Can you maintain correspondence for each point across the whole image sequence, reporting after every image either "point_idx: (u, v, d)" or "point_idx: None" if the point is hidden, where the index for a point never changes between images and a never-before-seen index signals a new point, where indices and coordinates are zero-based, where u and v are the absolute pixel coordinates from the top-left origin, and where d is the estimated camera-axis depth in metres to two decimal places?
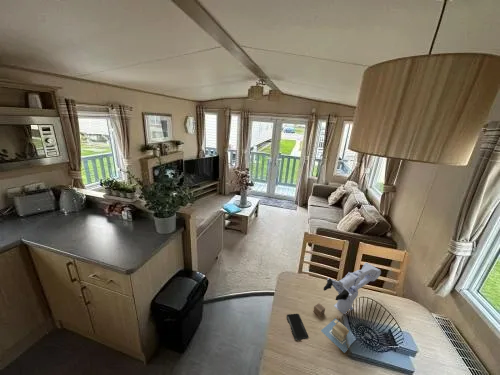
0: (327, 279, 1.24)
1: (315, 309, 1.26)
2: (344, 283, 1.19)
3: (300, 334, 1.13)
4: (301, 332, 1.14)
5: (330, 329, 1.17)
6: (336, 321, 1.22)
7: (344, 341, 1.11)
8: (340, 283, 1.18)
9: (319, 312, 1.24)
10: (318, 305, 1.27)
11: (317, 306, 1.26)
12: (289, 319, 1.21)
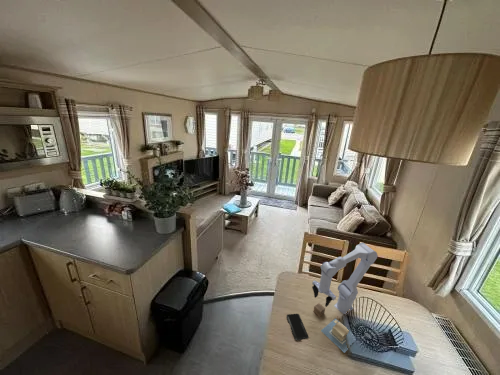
0: None
1: (315, 309, 1.26)
2: (323, 288, 1.19)
3: (300, 334, 1.13)
4: (301, 332, 1.14)
5: (330, 329, 1.17)
6: (336, 321, 1.22)
7: (344, 341, 1.11)
8: None
9: (319, 312, 1.24)
10: (318, 305, 1.27)
11: (317, 306, 1.26)
12: (289, 319, 1.21)
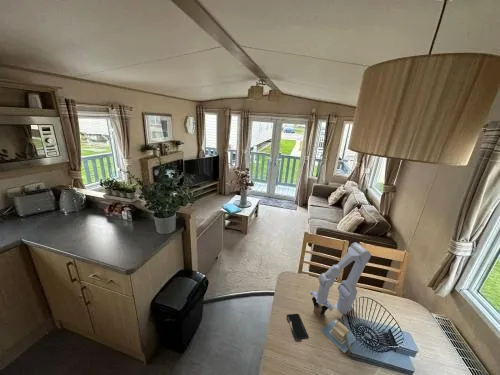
0: None
1: (315, 309, 1.26)
2: (320, 299, 1.21)
3: (300, 334, 1.13)
4: (301, 332, 1.14)
5: (330, 329, 1.17)
6: (336, 321, 1.22)
7: (344, 341, 1.11)
8: None
9: (319, 312, 1.24)
10: (318, 305, 1.27)
11: (317, 306, 1.26)
12: (289, 319, 1.21)
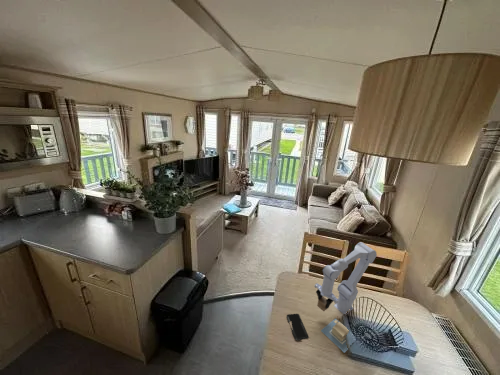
0: None
1: (319, 303, 1.22)
2: (325, 292, 1.18)
3: (300, 334, 1.13)
4: (301, 332, 1.14)
5: (330, 329, 1.17)
6: (336, 321, 1.22)
7: (344, 341, 1.11)
8: None
9: (323, 306, 1.20)
10: (322, 299, 1.23)
11: (321, 300, 1.23)
12: (289, 319, 1.21)
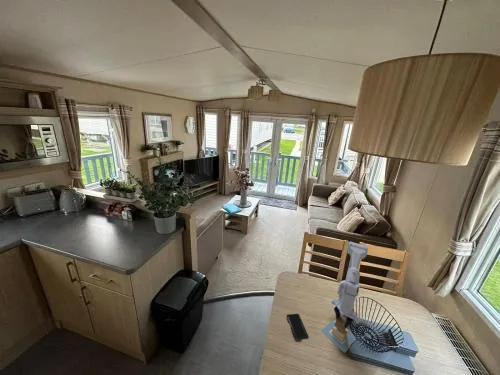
0: (332, 303, 1.15)
1: (337, 322, 1.12)
2: (345, 310, 1.07)
3: (300, 334, 1.13)
4: (301, 332, 1.14)
5: (330, 329, 1.17)
6: None
7: (344, 341, 1.11)
8: None
9: (342, 326, 1.09)
10: (340, 318, 1.13)
11: (339, 319, 1.12)
12: (289, 319, 1.21)
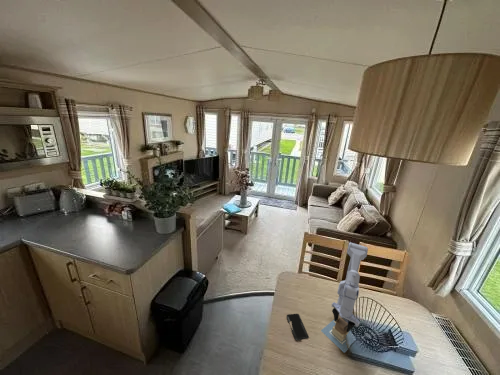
0: None
1: (337, 325, 1.12)
2: (345, 313, 1.07)
3: (300, 334, 1.13)
4: (301, 332, 1.14)
5: (330, 329, 1.17)
6: None
7: (344, 341, 1.11)
8: None
9: (342, 329, 1.10)
10: (340, 320, 1.13)
11: (339, 321, 1.12)
12: (289, 319, 1.21)
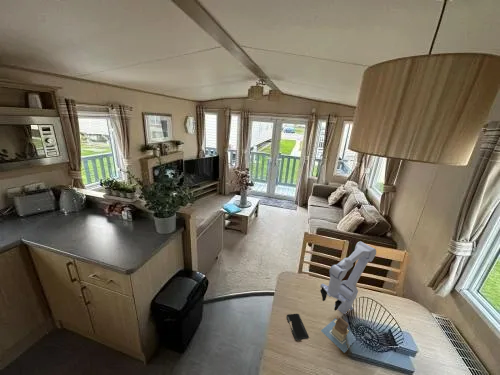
0: None
1: (337, 325, 1.12)
2: (332, 292, 1.15)
3: (300, 334, 1.13)
4: (301, 332, 1.14)
5: (330, 329, 1.17)
6: None
7: (344, 341, 1.11)
8: None
9: (342, 329, 1.10)
10: (340, 320, 1.13)
11: (339, 321, 1.12)
12: (289, 319, 1.21)
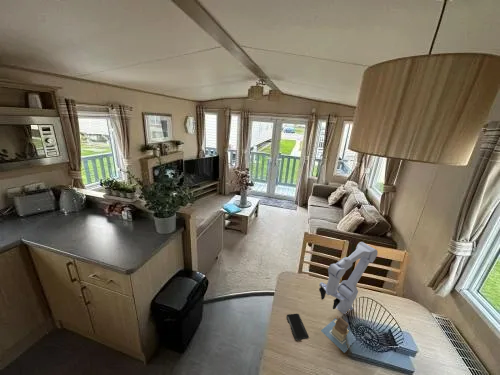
0: (319, 285, 1.24)
1: (337, 325, 1.12)
2: (330, 290, 1.16)
3: (300, 334, 1.13)
4: (301, 332, 1.14)
5: (330, 329, 1.17)
6: None
7: (344, 341, 1.11)
8: None
9: (342, 329, 1.10)
10: (340, 320, 1.13)
11: (339, 321, 1.12)
12: (289, 319, 1.21)
